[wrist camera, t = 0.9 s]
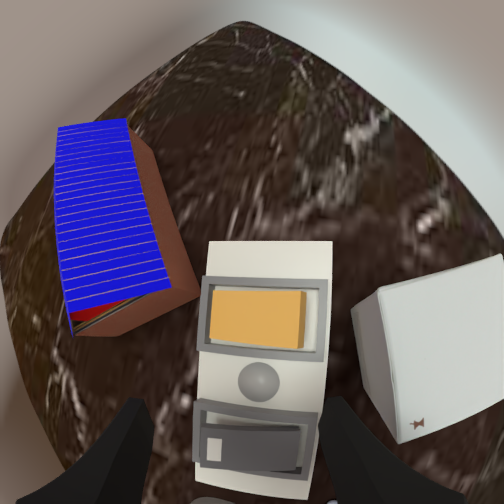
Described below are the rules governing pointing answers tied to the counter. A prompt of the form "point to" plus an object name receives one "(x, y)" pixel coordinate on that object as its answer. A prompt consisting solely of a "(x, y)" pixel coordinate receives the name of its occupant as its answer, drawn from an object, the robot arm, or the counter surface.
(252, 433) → the charcoal rocker
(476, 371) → the supplement box
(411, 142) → the counter surface
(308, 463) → the cream switch panel
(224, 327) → the amber rocker
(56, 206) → the house
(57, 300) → the counter surface
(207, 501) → the lumpy-topped squat cylinder
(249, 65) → the counter surface
